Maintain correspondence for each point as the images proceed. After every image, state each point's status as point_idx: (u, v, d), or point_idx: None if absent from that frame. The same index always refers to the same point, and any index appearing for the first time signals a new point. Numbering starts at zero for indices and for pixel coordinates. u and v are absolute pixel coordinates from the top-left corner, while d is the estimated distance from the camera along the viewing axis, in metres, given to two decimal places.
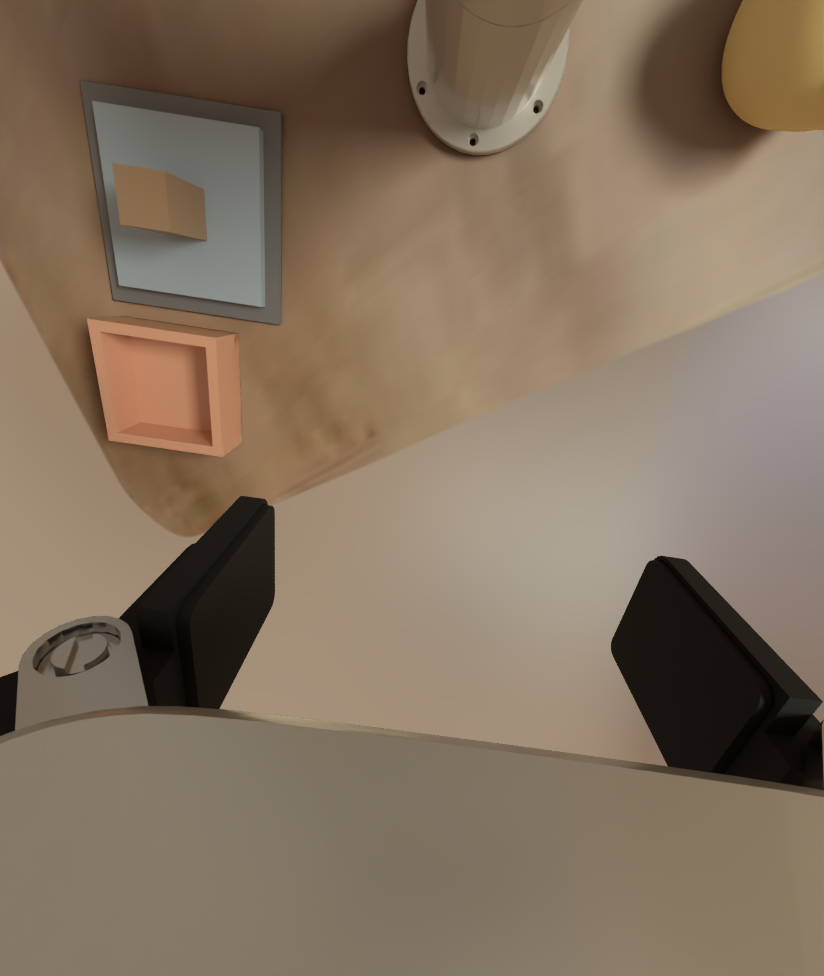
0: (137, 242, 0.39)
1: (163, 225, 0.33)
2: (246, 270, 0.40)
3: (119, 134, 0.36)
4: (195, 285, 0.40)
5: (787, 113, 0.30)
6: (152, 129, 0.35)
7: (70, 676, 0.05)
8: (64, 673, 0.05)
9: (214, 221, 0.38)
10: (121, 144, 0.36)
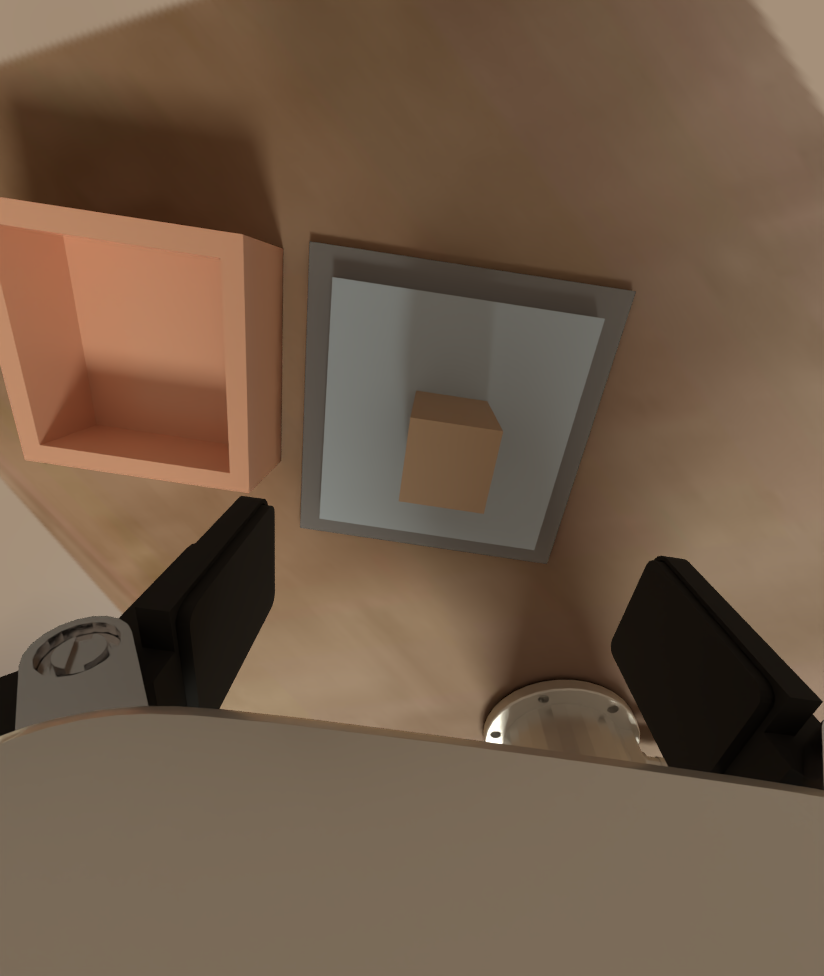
0: (404, 338, 0.22)
1: (408, 492, 0.19)
2: (367, 506, 0.26)
3: (555, 353, 0.22)
4: (342, 424, 0.24)
5: None
6: (553, 409, 0.23)
7: (70, 676, 0.05)
8: (64, 673, 0.05)
9: None
10: (542, 352, 0.22)
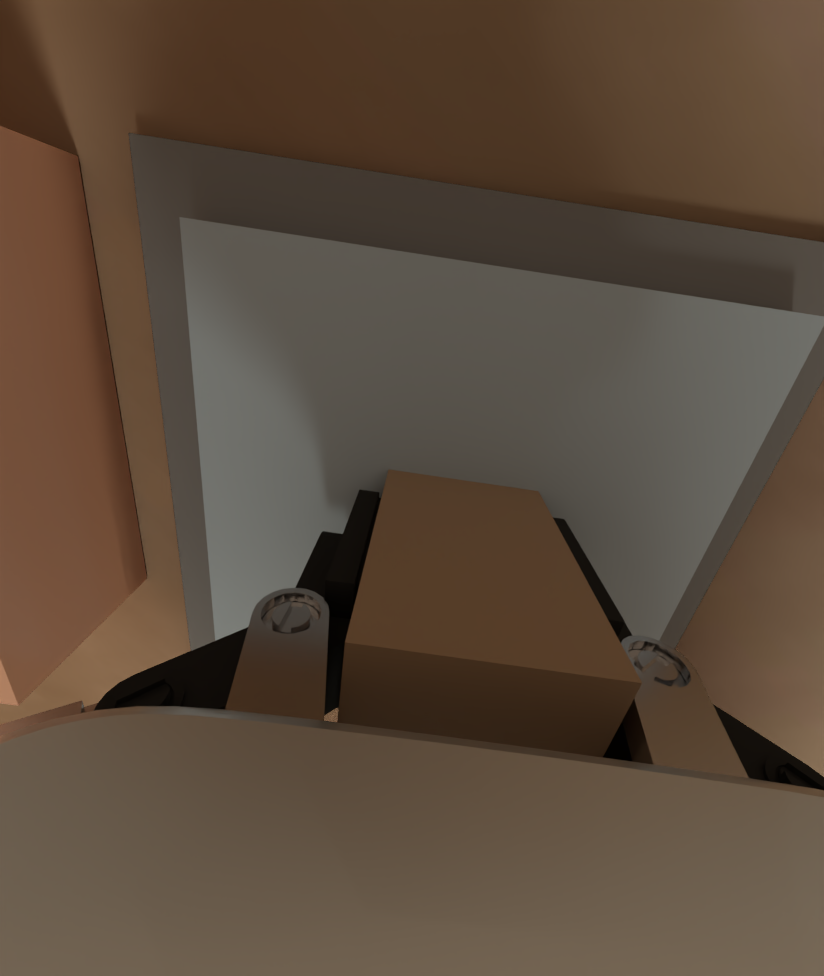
0: (358, 361, 0.10)
1: None
2: None
3: (698, 394, 0.10)
4: (240, 530, 0.12)
5: None
6: (677, 507, 0.11)
7: (280, 633, 0.06)
8: (277, 629, 0.07)
9: None
10: (669, 392, 0.10)
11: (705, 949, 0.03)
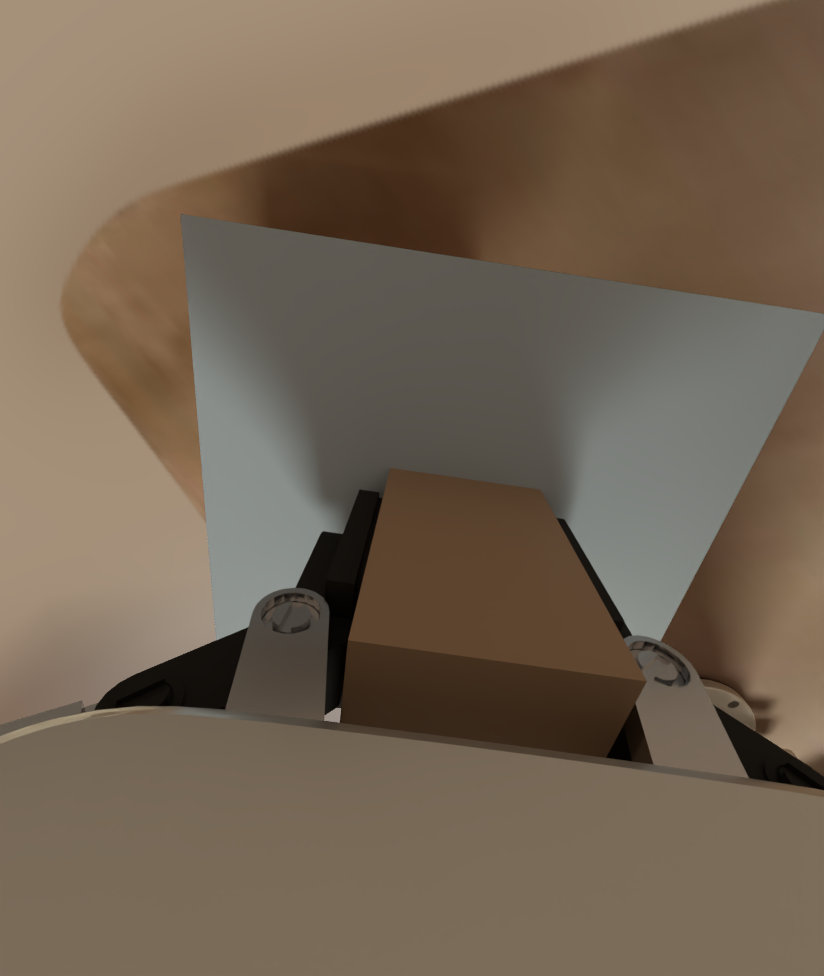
0: (360, 358, 0.10)
1: None
2: None
3: (701, 392, 0.10)
4: (241, 529, 0.12)
5: None
6: (680, 506, 0.11)
7: (280, 633, 0.06)
8: (277, 629, 0.07)
9: None
10: (672, 390, 0.10)
11: (704, 949, 0.03)
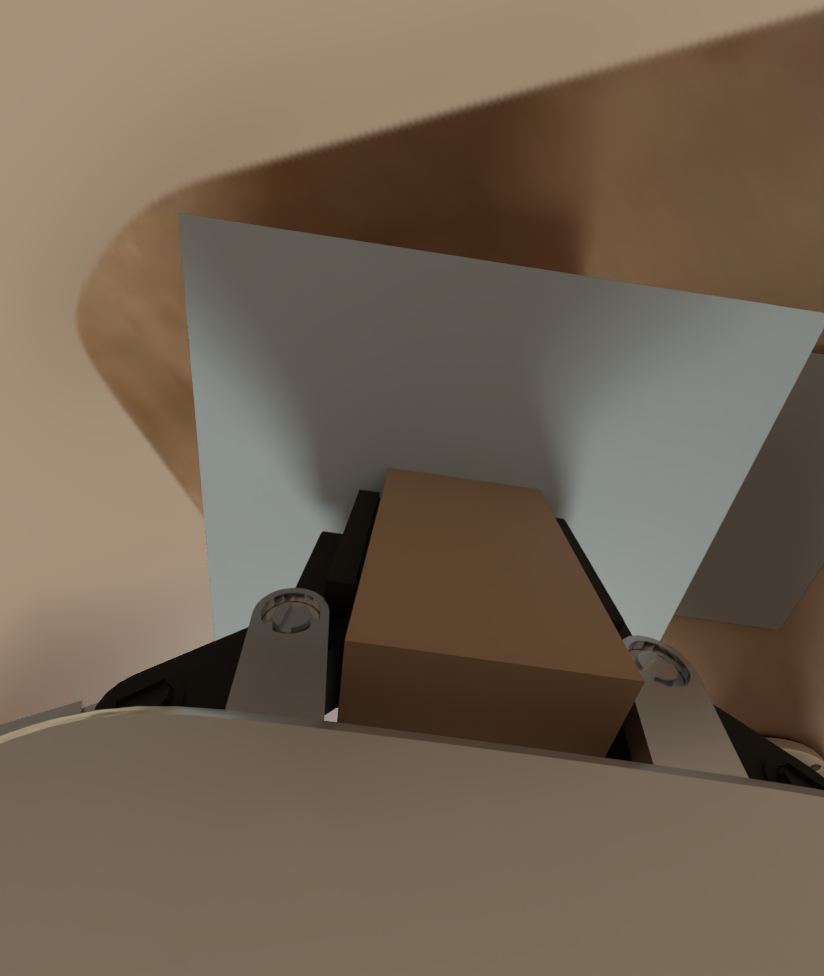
0: (358, 358, 0.10)
1: None
2: None
3: (700, 391, 0.10)
4: (239, 529, 0.12)
5: None
6: (679, 505, 0.11)
7: (281, 633, 0.06)
8: (278, 629, 0.07)
9: None
10: (671, 390, 0.10)
11: (704, 949, 0.03)
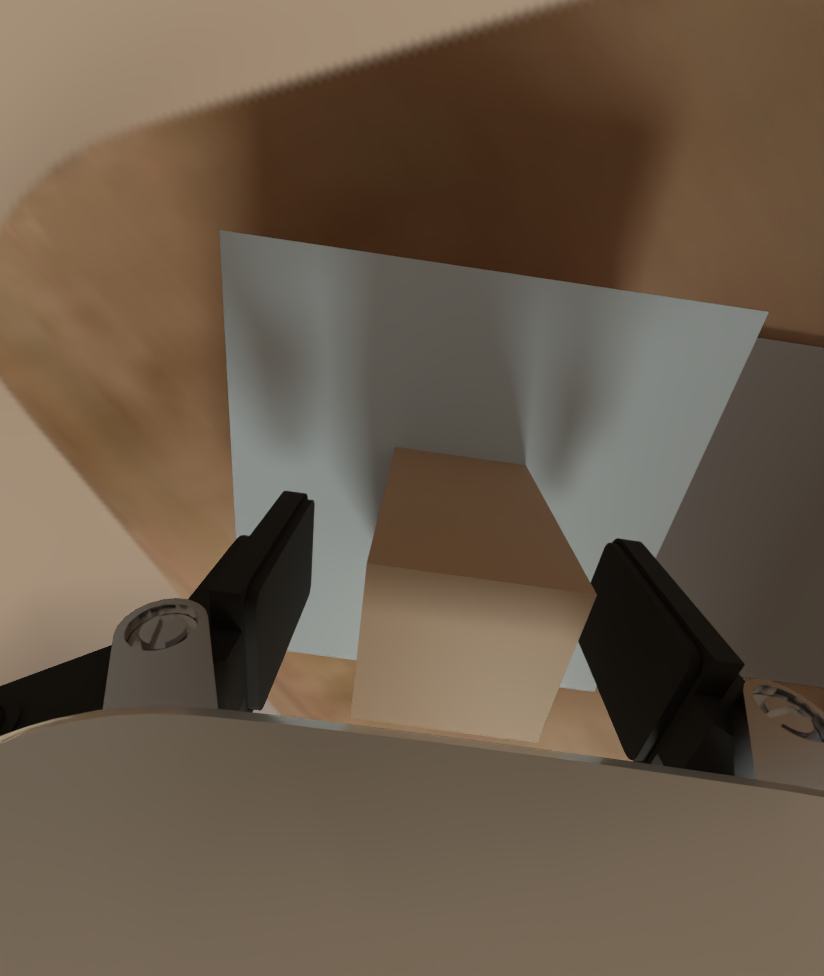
0: (369, 351, 0.11)
1: (371, 704, 0.09)
2: (319, 629, 0.16)
3: (661, 379, 0.11)
4: (264, 503, 0.14)
5: None
6: (647, 479, 0.13)
7: (153, 651, 0.06)
8: (149, 647, 0.06)
9: None
10: (636, 377, 0.11)
11: (705, 949, 0.03)
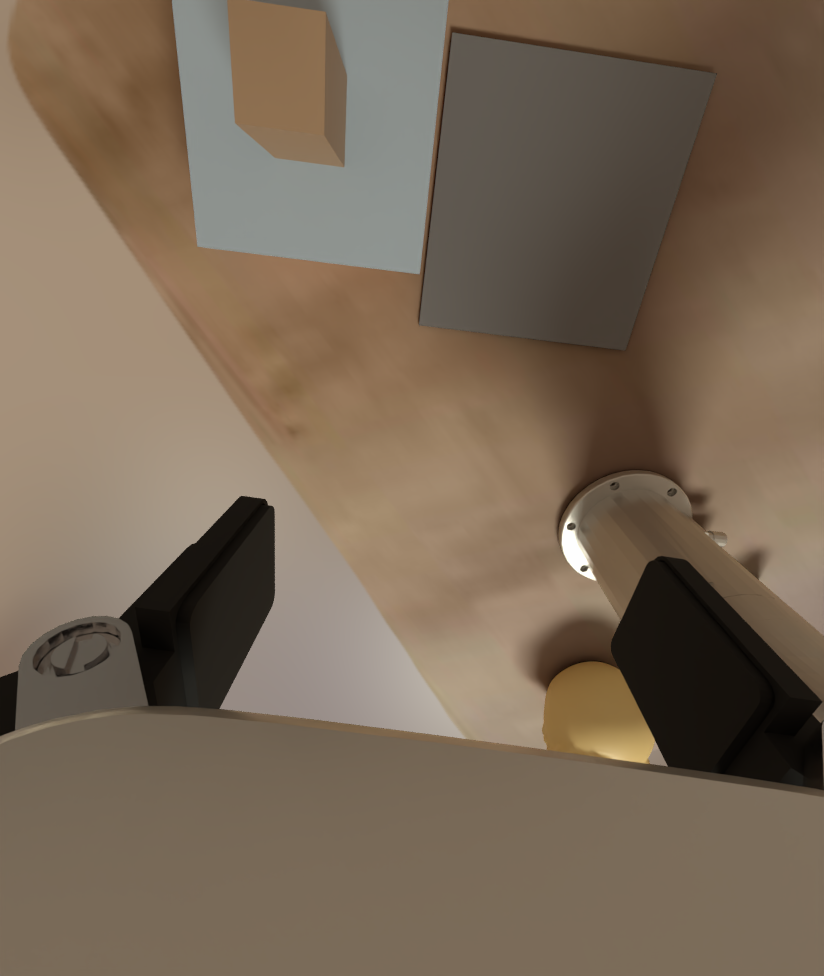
0: None
1: (242, 110, 0.18)
2: (244, 227, 0.26)
3: (408, 5, 0.21)
4: (202, 116, 0.23)
5: (556, 717, 0.46)
6: (415, 83, 0.23)
7: (70, 676, 0.05)
8: (64, 673, 0.05)
9: (304, 178, 0.24)
10: (395, 5, 0.21)
11: (705, 949, 0.03)
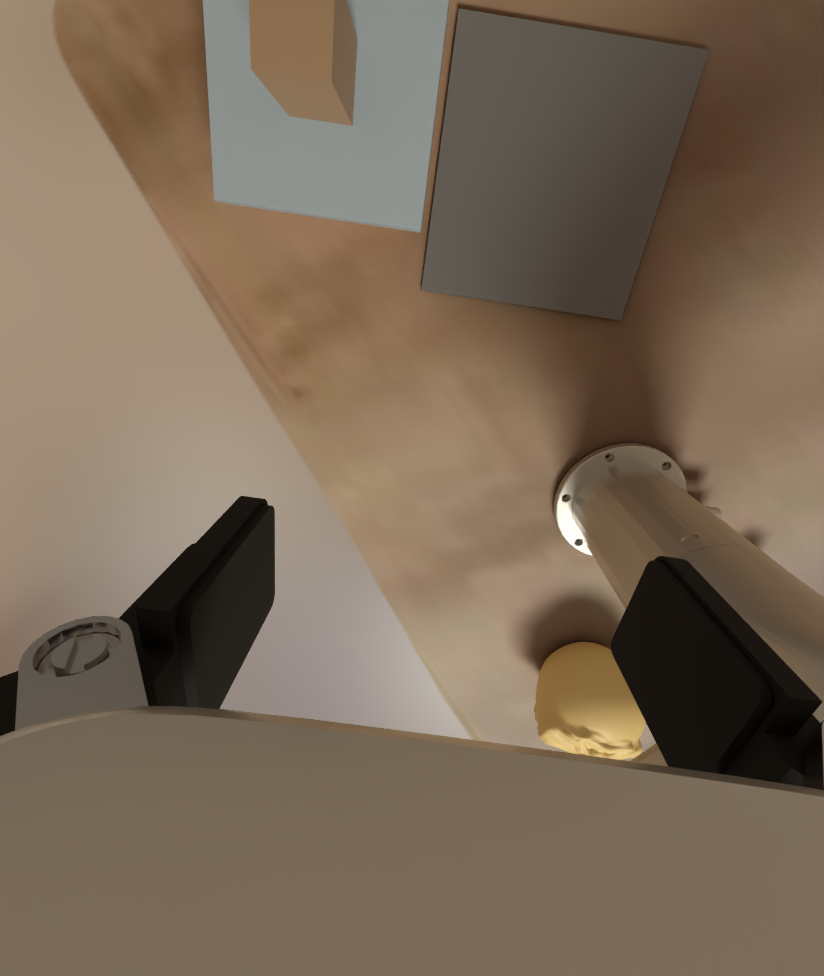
0: None
1: (258, 56, 0.20)
2: (258, 182, 0.27)
3: None
4: (223, 75, 0.25)
5: (547, 693, 0.46)
6: (420, 46, 0.24)
7: (70, 676, 0.05)
8: (64, 673, 0.05)
9: (314, 136, 0.26)
10: None
11: (705, 949, 0.03)
